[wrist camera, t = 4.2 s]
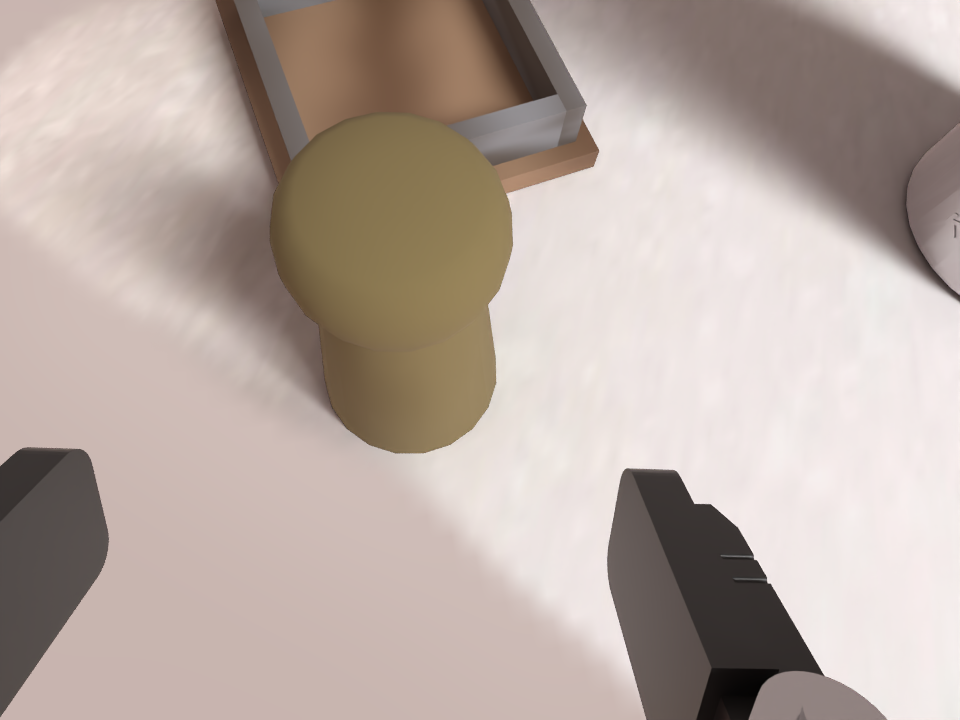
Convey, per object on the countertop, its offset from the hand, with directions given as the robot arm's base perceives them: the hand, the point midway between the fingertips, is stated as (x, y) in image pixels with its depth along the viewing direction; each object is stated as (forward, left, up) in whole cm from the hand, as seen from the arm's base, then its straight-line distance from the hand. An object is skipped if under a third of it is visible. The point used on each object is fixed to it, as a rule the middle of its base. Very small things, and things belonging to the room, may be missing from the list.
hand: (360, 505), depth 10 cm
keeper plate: (-11, -15, -12) cm, 22 cm away
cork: (-4, -5, -12) cm, 13 cm away
